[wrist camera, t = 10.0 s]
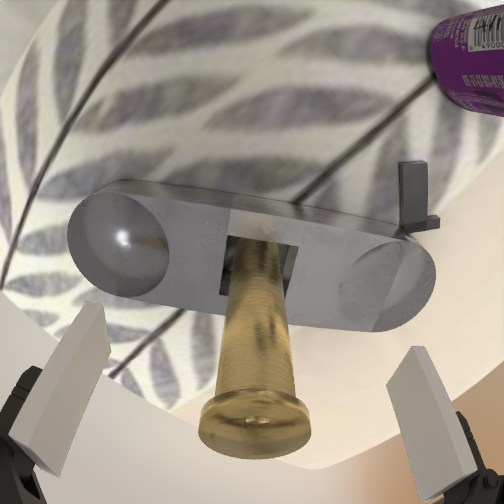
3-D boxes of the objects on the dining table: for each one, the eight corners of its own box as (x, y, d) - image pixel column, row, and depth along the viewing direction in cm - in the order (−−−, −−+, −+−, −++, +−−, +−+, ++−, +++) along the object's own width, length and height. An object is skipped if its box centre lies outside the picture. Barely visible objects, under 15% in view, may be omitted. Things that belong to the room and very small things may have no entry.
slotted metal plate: (86, 175, 19) (64, 187, 16) (431, 233, 21) (450, 250, 18) (90, 266, 22) (73, 286, 20) (397, 311, 24) (410, 334, 21)
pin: (233, 221, 21) (201, 401, 8) (289, 230, 21) (327, 412, 8) (225, 270, 22) (196, 453, 10) (277, 278, 23) (294, 461, 10)
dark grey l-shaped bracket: (398, 163, 18) (402, 164, 18) (436, 160, 18) (441, 161, 18) (399, 230, 21) (403, 234, 20) (435, 225, 20) (439, 228, 20)
